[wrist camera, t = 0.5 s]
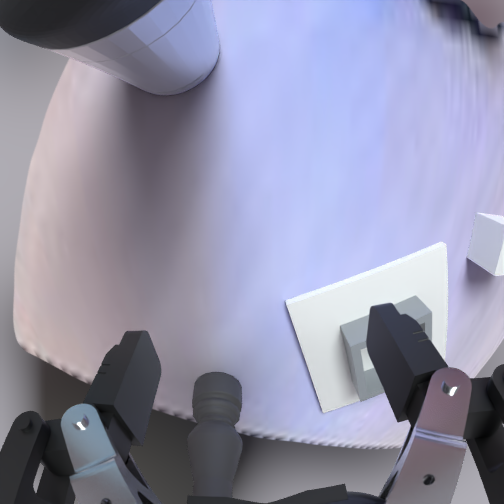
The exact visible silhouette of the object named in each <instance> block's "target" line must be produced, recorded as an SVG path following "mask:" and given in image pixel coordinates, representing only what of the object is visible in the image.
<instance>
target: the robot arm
mask: <svg viewBox="0 0 504 504" xmlns="http://www.w3.org/2000/svg"><path fill="white" fill-rule="evenodd" d="M0 26H1V28H2V29H3V30H4V31H5V32H7V33H8V34H9V35H11V36H13V37H15V38H17V39H19V40H22V41H24V42H27V43H30V44H34V45H36V46H39V47H42V48H45V49H47V50H50V51H53V52H55V53H58V54H61V55H64V56H66V57H69V58H72V59H74V60H77V61H79V62H82V63H84V64H86V65H89V66H91V67H94V68H96V69H98V70H101V71H103V72H105V73H107V74H110V75H112V76H114V77H116V78H119V79H121V80H123V81H125V82H127V83H129V84H131V85H133V86H136V87H138V88H140V89H142V90H144V91H146V92H149V93H152V94H155V95H175V94H179V93H182V92H185V91H188V90H190V89H191V88H193V87H195V86H197V85H198V84H199V83H201V82H202V81H203V80H204V79H205V78H206V77H207V76H208V75H209V74H210V73H211V71H212V70H213V68H214V66H215V65H216V62H217V59H218V56H219V49H220V44H219V37H218V32H217V26H216V21H215V17H214V12H213V7H212V2H211V0H0ZM366 346H367V351H368V355H369V357H370V359H371V361H372V364H373V366H374V368H375V370H376V373H377V375H378V377H379V379H380V382H381V384H382V386H383V389H384V391H385V393H386V396H387V398H388V400H389V403H390V405H391V408H392V410H393V412H394V415H395V417H396V420H397V422H401V421H405V420H409V422H410V425H411V426H410V429H409V431H408V434H407V436H406V439H405V441H404V444H403V446H402V449H401V451H400V453H399V456H398V458H397V461H396V463H395V465H394V467H393V470H392V472H391V474H390V476H389V478H388V479H387V481H386V483H385V485H384V487H383V489H382V491H381V492H380V494H379V496H378V497H377V496H374V495H371V494H366V493H360V492H347V491H346V486H345V484H342V485H336V486H331V487H326V488H320V489H314V490H307V491H304V492H301V493H298V494H296V495H293V496H290V497H287V498H284V499H281V500H278V501H274V502H271V503H257V502H251V501H245V500H238V499H234V498H229V497H210V496H188V499H187V504H450V503H451V500H452V497H453V494H454V491H455V488H456V485H457V482H458V478H459V475H460V472H461V468H462V464H463V460H464V456H465V452H466V447H467V444H468V446H469V448H470V451H471V453H472V456H473V458H474V461H475V463H476V466H477V468H478V471H479V474H480V477H481V479H482V482H483V485H484V488H485V491H486V494H487V497H488V500H489V503H490V504H504V427H503V425H502V424H504V364H503V365H500V366H498V367H497V368H496V369H495V370H494V372H493V374H492V376H491V377H487V378H469V377H468V375H467V374H466V373H464V372H463V371H461V370H459V369H457V368H452V367H448V365H447V364H446V362H445V361H444V359H443V358H442V356H441V355H440V353H439V352H438V350H437V349H436V348H435V346H434V345H433V343H432V342H431V340H429V337H428V336H427V335H426V333H425V332H423V329H422V327H421V326H420V325H419V323H418V322H417V321H416V320H415V319H413V318H412V317H410V316H409V315H407V314H401V315H400V313H399V312H398V310H397V309H396V308H395V306H394V305H393V304H392V303H385V304H380V305H374V306H371V308H370V312H369V321H368V330H367V338H366ZM160 377H161V365H160V361H159V358H158V356H157V353H156V351H155V348H154V346H153V343H152V341H151V338H150V336H149V334H148V332H147V331H145V330H144V331H127V332H125V334H124V336H123V338H122V340H121V342H120V344H119V345H115V346H114V347H113V348H112V349H111V350H110V351H109V352H108V353H107V354H106V355H105V357H104V360H103V362H102V366H100V368H99V370H98V374H96V376H95V378H94V380H93V382H92V385H91V387H90V389H89V391H88V393H87V396H86V398H85V400H84V402H83V404H78V405H75V406H73V407H71V408H70V409H68V410H67V411H66V412H65V413H64V415H63V417H62V419H56V420H49V421H44V420H43V419H42V418H41V416H40V415H39V414H38V413H36V412H34V411H27V412H24V413H22V414H21V415H19V416H18V417H17V418H16V419H15V421H14V422H13V424H12V426H11V429H10V431H9V433H8V435H7V437H6V440H5V442H4V445H3V447H2V449H1V451H0V504H74V501H75V496H76V498H77V501H78V503H79V504H162V502H161V501H160V500H159V499H158V498H157V497H156V495H155V494H154V493H153V491H152V490H151V488H150V486H149V485H148V483H147V481H146V480H145V478H144V477H143V475H142V473H141V471H140V470H139V468H138V466H137V464H136V463H135V461H134V459H133V457H132V456H131V454H130V453H129V451H130V447H131V445H136V446H143V442H144V438H145V434H146V430H147V426H148V422H149V418H150V414H151V410H152V407H153V403H154V399H155V395H156V392H157V388H158V384H159V381H160ZM463 439H466V441H467V443H466V441H463ZM40 463H41V464H42V465H43V466H44V470H43V473H42V477H41V479H40V483H39V486H38V490H37V493H35V491H34V488H33V483H34V479H35V476H36V473H37V470H38V467H39V464H40Z"/></svg>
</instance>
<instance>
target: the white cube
mask: <svg viewBox="0 0 504 504" xmlns="http://www.w3.org/2000/svg"><path fill="white" fill-rule="evenodd" d="M467 258H468V259H470V260H471V261H473V262H474V263H476V264H477V265H479V266H480V267H482V268H483V269H485V270H486V271H488V272H489V273H491V274H492V275H493V276H501V275H504V216H499V215H492V214H484V213H477V212H476V213H475V219H474V225H473V230H472V235H471V240H470V244H469V249H468V253H467Z"/></svg>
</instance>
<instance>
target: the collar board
mask: <svg viewBox="0 0 504 504" xmlns="http://www.w3.org/2000/svg"><path fill="white" fill-rule="evenodd" d="M285 301H286V305H287V308H288V311H289V314H290V317H291V319H292V322H293V325H294V328H295V331H296V334H297V337H298V340H299V343H300V346H301V349H302V352H303V355H304V357H305V360H306V363H307V366H308V369H309V372H310V375H311V378H312V381H313V384H314V387H315V390H316V393H317V396H318V399H319V402H320V405H321V408H322V411H323V413H326V412H329V411H332V410H335V409H338V408H341V407H344V406H346V405H349V404H352V403H355V402H357V401H361V402H362V401H364V400H367V399H369V398H372V397H374V396H377V395H379V394H382V393H384V392H385V391H384V389H383V386H382V384H381V382H380V379H379V377H378V375H377V373H376V370H375V368H374V366H373V364H372V361H371V359H370V357H369V355H368V351H367V346H366V338H367V330H368V321H369V312H370V308H371V306H374V305H380V304H385V303H392V304H393V305H394V306H395V308H396V309H397V310H398V312H399V313H400V315H401V314H407V315H409V316H410V317H412V318H413V319H415V320H416V321H417V322H418V323H419V325H420V326H421V327H422V329H423V332H425V333H426V335H427V336H428V337H429V340H431V342H432V343H433V345H434V346H435V348H436V349H437V350H438V352H439V353H440V355H441V356H442V358H443V359H444V361H445V353H446V340H447V320H448V269H447V250H446V244H445V243H443V242H442V241H441V242H439V243H437V244H434V245H432V246H430V247H427V248H425V249H422V250H420V251H417V252H415V253H412V254H410V255H407V256H405V257H402V258H400V259H397V260H395V261H392V262H390V263H387V264H385V265H382V266H379V267H377V268H374V269H372V270H369V271H366V272H364V273H361V274H358V275H356V276H353V277H350V278H347V279H345V280H342V281H339V282H336V283H334V284H331V285H328V286H325V287H322V288H320V289H317V290H314V291H311V292H308V293H305V294H302V295H299V296H296V297H293V298H290V299H287V300H285Z"/></svg>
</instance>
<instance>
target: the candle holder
mask: <svg viewBox="0 0 504 504" xmlns="http://www.w3.org/2000/svg"><path fill="white" fill-rule="evenodd" d="M192 407H193V417H194V418H195V420H196V421H197V422H198V423H197V426H196V427H195V428H194V429H193V430H192V432H191V433H190V434H189V436H188V440H187V447H188V453H189V458H190V464H191V470H192V476H193V480H194V486H193V496H210V497H229V498H232V483H233V480H234V476H235V473H236V469H237V466H238V462H239V459H240V455H241V452H242V446H243V443H242V439H241V437H240V436H239V434H238V432H237V431H236V430H235V427H234V425H235V424H236V423H237V422H238V421H239V417H240V412H241V408H242V387H241V385H240V383H239V381H238V380H237V379H236V378H234V377H233V376H231V375H229V374H226V373H221V372H211V373H206V374H204V375H202V376H201V377H199V378H198V379H197V381H196V382H195V386H194V393H193V400H192Z"/></svg>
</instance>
